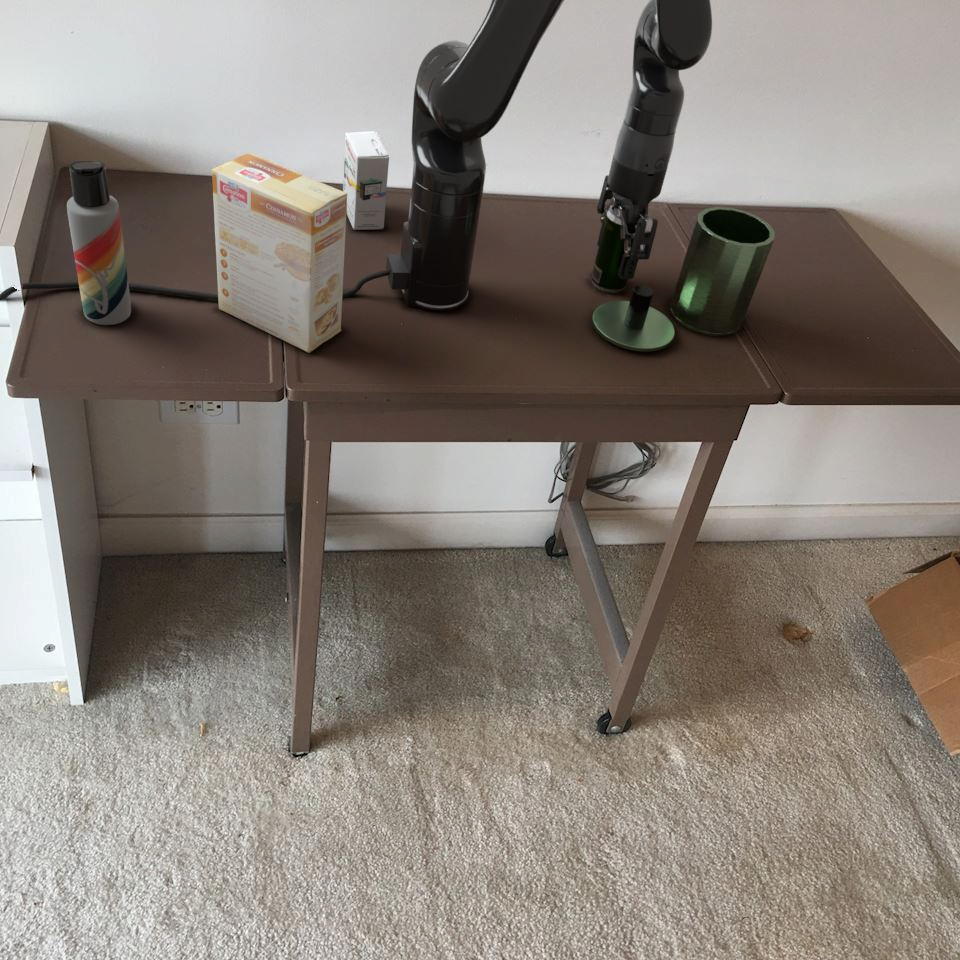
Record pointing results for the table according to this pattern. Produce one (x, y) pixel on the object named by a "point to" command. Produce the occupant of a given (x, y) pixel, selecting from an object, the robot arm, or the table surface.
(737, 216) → the trash can
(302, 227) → the coffeecake box
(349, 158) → the ink box
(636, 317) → the bin lid
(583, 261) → the table surface
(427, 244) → the robot arm
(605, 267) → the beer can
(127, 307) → the lotion bottle
